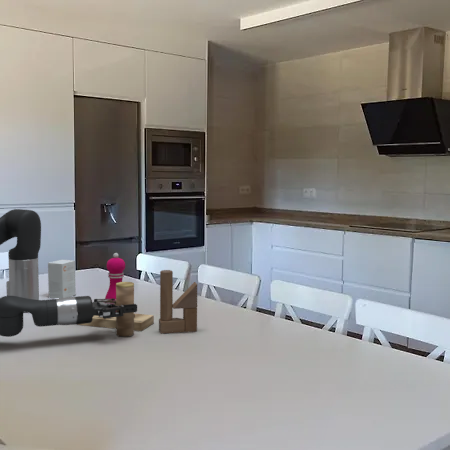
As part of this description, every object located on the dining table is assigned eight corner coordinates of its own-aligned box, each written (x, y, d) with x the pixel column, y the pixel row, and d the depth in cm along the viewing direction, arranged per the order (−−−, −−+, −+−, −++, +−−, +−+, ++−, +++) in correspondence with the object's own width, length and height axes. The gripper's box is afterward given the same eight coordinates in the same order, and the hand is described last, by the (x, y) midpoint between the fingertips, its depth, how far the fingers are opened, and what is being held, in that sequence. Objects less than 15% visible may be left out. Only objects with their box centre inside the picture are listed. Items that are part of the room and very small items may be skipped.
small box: (61, 293, 212) (61, 259, 211) (76, 295, 210) (75, 260, 209) (47, 298, 205) (47, 262, 203) (62, 299, 202) (62, 263, 201)
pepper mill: (130, 311, 187) (129, 251, 185) (124, 317, 180) (123, 254, 178) (108, 310, 188) (108, 251, 186) (101, 316, 180) (101, 254, 178)
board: (62, 323, 172) (62, 314, 171) (78, 316, 180) (78, 308, 180) (141, 331, 164) (141, 322, 164) (153, 323, 173) (153, 314, 173)
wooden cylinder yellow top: (113, 335, 159) (112, 284, 158) (125, 328, 167) (125, 279, 165) (129, 337, 158) (129, 285, 156) (141, 329, 165) (141, 280, 164)
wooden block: (197, 331, 165) (197, 270, 163) (160, 334, 162) (160, 272, 160) (194, 328, 168) (195, 268, 166) (158, 330, 165) (158, 269, 164)
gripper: (69, 317, 161) (128, 312, 168) (77, 331, 148) (141, 324, 155) (69, 291, 161) (128, 287, 167) (77, 302, 147) (141, 298, 154)
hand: (134, 305), depth 161 cm, fingers closed on wooden cylinder yellow top, 5 cm apart
